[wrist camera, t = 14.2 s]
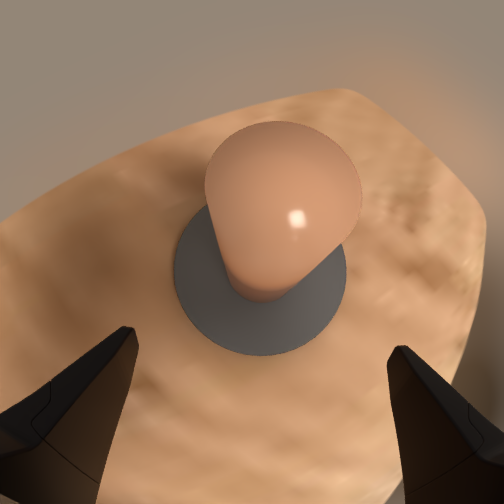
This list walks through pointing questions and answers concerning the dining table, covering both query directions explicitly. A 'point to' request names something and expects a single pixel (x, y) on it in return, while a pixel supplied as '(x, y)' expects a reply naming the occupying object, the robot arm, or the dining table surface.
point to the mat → (247, 312)
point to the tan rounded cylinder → (279, 205)
